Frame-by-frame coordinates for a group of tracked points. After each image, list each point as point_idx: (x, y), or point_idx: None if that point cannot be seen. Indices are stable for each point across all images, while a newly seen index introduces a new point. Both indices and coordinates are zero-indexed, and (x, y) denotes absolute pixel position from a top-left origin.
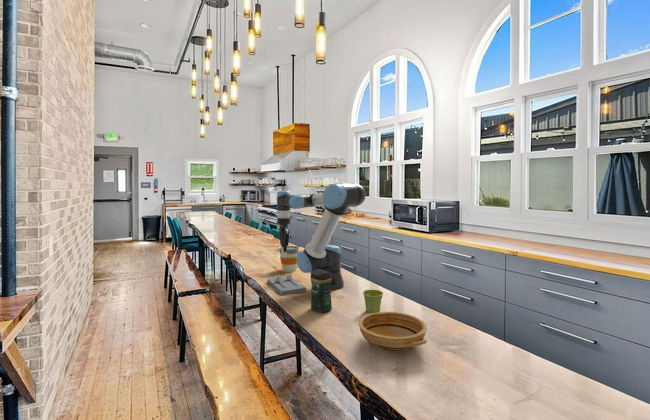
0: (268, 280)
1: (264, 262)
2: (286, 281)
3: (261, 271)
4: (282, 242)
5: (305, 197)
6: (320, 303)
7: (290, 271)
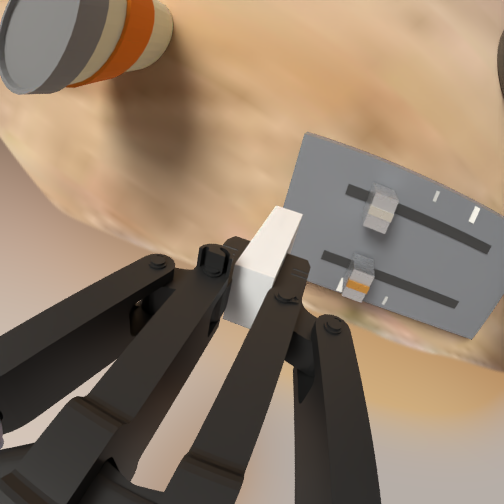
0: None
1: (4, 93)
2: (389, 229)
3: (87, 165)
4: (202, 347)
5: None
6: None
7: (168, 42)
